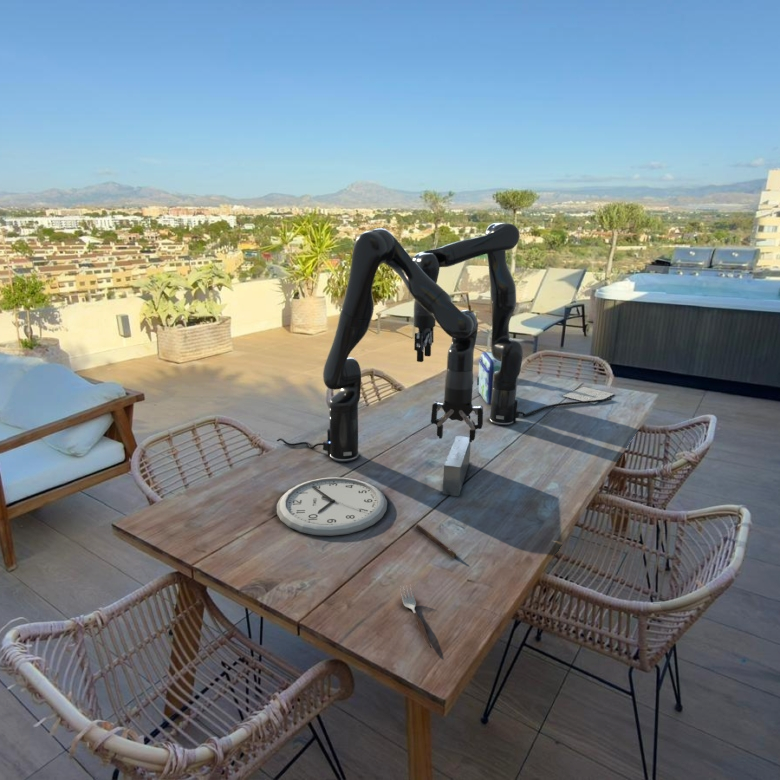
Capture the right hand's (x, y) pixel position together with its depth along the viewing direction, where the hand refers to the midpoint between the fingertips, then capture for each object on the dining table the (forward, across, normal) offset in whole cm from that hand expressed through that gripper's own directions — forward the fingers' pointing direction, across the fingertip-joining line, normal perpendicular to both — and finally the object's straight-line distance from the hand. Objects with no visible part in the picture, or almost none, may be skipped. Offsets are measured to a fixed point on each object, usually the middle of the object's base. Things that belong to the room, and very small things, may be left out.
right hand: (424, 358), depth 184 cm
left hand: (+12, -37, -22) cm, 45 cm away
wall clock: (+28, -59, +7) cm, 66 cm away
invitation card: (+31, +76, -56) cm, 99 cm away
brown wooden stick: (+28, -65, -24) cm, 75 cm away
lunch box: (+30, +52, -15) cm, 62 cm away
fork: (+28, -92, -29) cm, 100 cm away
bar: (+29, -29, -20) cm, 46 cm away
